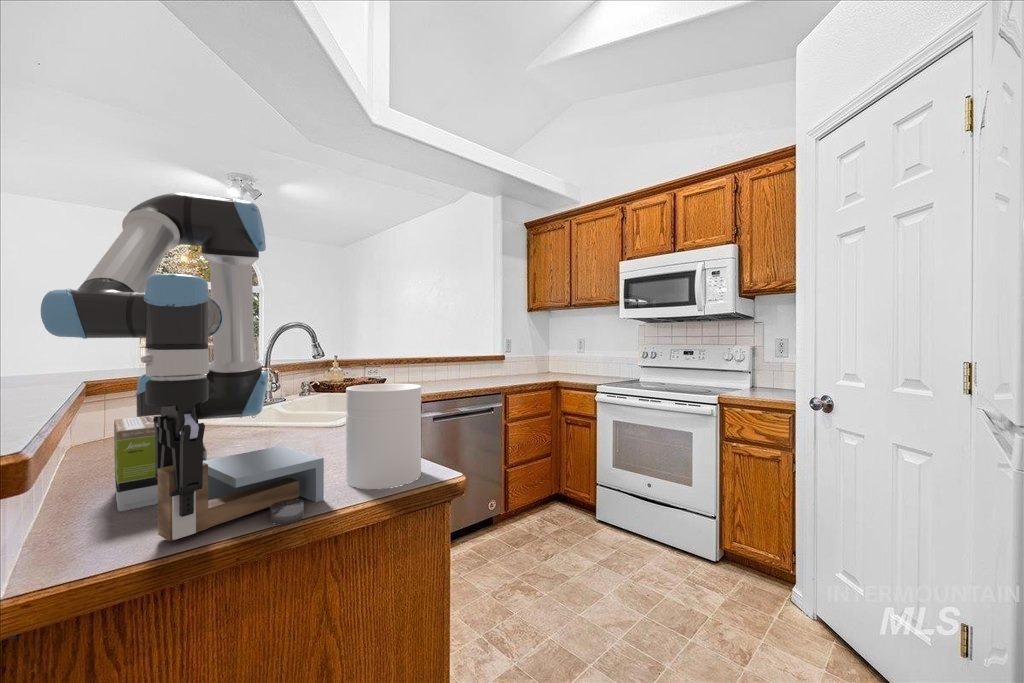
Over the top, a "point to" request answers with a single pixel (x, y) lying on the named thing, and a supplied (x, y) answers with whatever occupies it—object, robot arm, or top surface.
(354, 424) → the canister
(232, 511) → the wooden l-shaped block
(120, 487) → the tea box
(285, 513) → the steel puck
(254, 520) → the top surface
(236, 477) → the low shelf
